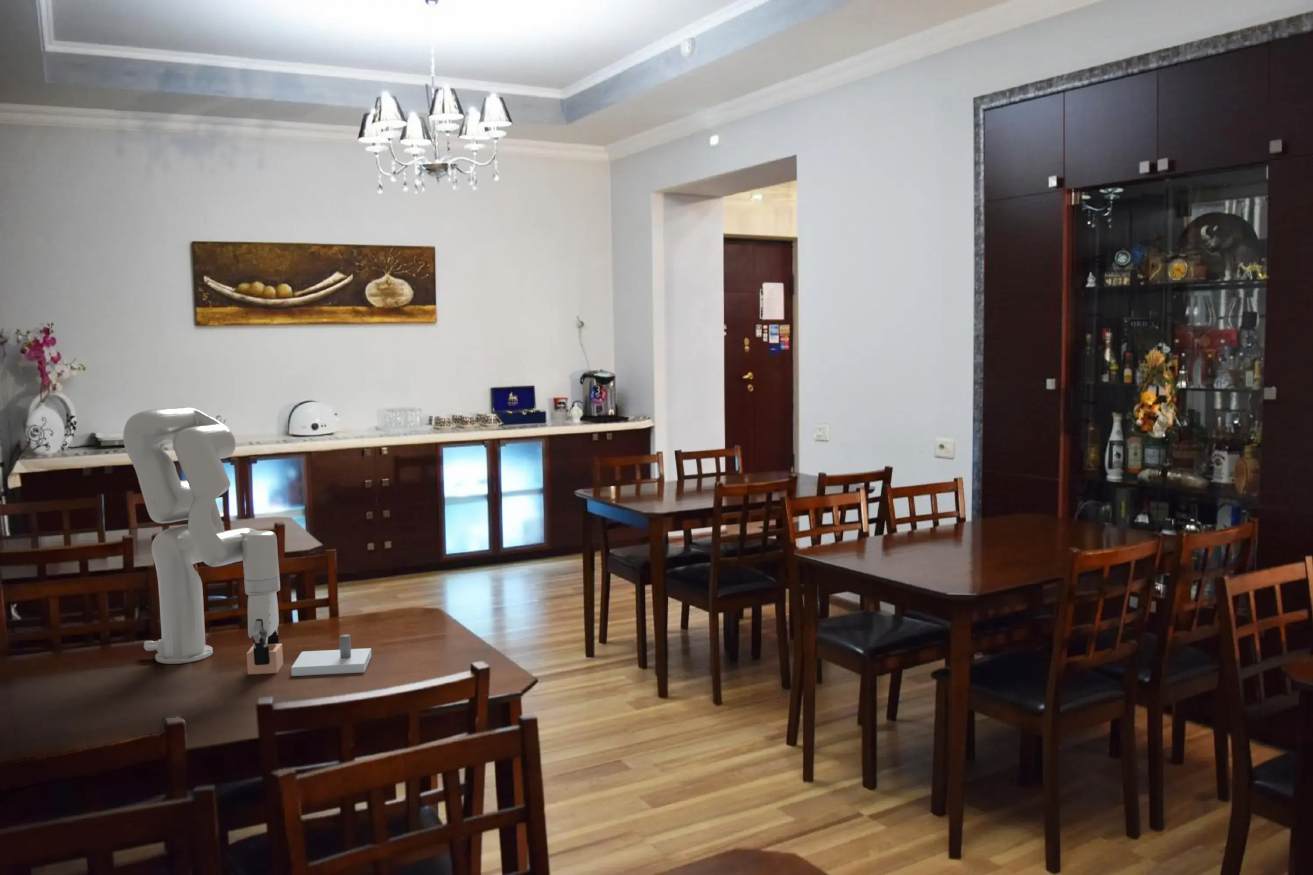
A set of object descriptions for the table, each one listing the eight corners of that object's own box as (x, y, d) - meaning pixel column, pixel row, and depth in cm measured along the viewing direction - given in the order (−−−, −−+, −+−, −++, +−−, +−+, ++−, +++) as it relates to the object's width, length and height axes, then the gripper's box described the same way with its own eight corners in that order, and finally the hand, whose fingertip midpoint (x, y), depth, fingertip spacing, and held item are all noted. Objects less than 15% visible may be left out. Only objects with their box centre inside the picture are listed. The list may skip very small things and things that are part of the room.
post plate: (291, 675, 234) (290, 645, 234) (302, 659, 246) (301, 630, 246) (364, 672, 237) (363, 642, 236) (371, 656, 248) (370, 627, 248)
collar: (247, 674, 236) (246, 652, 235) (254, 665, 242) (253, 644, 242) (277, 672, 237) (276, 651, 236) (283, 664, 243) (282, 643, 243)
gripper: (254, 578, 245) (259, 648, 247) (235, 594, 228) (240, 670, 230) (287, 576, 246) (292, 646, 248) (270, 592, 229) (275, 668, 231)
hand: (267, 658), depth 239 cm, fingers open, 9 cm apart
